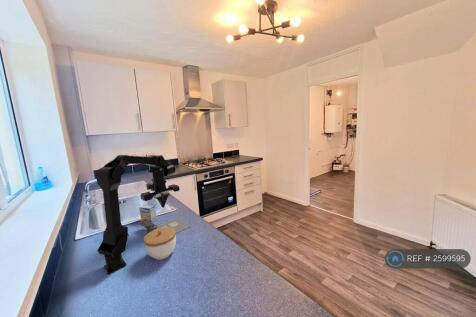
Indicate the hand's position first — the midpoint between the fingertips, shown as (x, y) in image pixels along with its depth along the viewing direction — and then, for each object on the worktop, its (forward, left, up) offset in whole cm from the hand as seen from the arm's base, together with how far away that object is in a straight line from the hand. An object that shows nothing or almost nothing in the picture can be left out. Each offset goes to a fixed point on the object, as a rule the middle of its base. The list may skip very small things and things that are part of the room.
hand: (163, 207), depth 103 cm
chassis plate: (-2, 0, -12) cm, 12 cm away
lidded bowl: (-20, +11, -12) cm, 26 cm away
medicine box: (+18, +2, -12) cm, 22 cm away
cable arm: (+4, +7, -10) cm, 13 cm away
